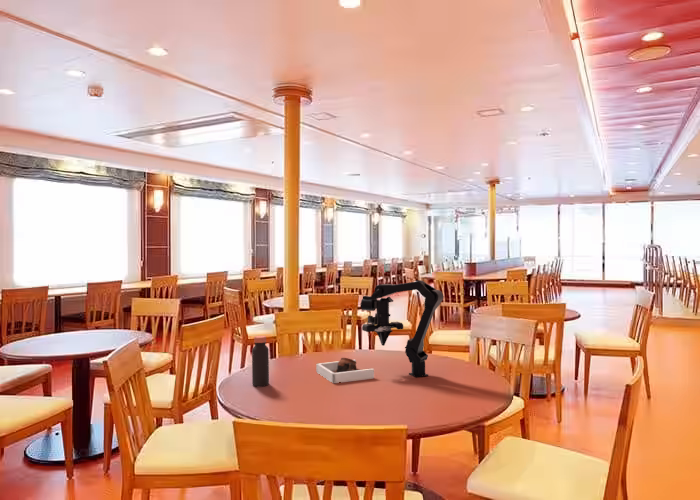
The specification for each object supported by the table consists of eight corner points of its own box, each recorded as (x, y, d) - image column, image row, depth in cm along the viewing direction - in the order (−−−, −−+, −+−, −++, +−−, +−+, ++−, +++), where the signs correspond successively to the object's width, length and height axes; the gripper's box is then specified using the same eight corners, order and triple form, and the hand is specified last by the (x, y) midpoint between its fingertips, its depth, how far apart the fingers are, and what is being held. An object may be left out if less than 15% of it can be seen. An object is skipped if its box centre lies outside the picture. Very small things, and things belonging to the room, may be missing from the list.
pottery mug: (330, 374, 226) (336, 357, 229) (348, 381, 228) (353, 364, 232) (341, 373, 215) (347, 355, 219) (360, 380, 218) (365, 362, 222)
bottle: (265, 387, 204) (264, 338, 203) (249, 386, 205) (249, 337, 205) (271, 382, 210) (270, 335, 210) (256, 382, 212) (255, 335, 211)
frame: (374, 378, 216) (373, 369, 216) (332, 383, 208) (332, 373, 208) (354, 368, 235) (354, 359, 235) (316, 372, 227) (316, 363, 227)
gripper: (392, 308, 240) (392, 340, 240) (357, 310, 233) (357, 344, 233) (403, 311, 230) (404, 344, 230) (367, 313, 222) (367, 348, 223)
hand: (383, 345), depth 229 cm, fingers closed
